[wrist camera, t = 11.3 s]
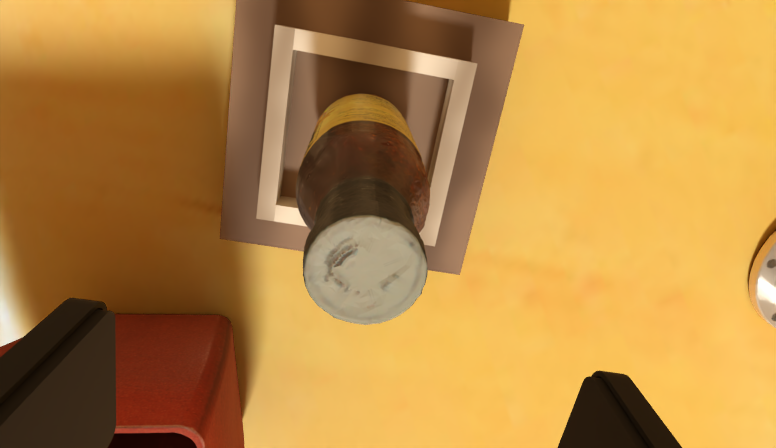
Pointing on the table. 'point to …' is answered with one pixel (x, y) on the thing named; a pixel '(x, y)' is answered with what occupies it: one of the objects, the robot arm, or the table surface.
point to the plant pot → (175, 382)
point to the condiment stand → (370, 76)
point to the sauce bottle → (363, 211)
